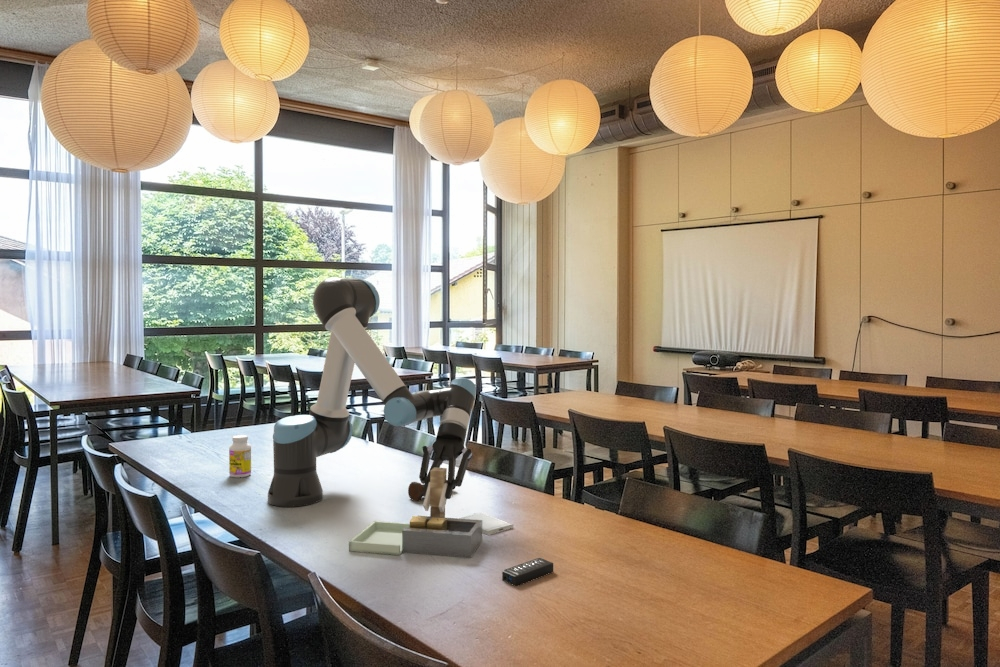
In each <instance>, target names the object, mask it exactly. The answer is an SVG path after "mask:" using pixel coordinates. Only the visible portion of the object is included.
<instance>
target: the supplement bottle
mask: <svg viewBox="0 0 1000 667" xmlns="http://www.w3.org/2000/svg"><path fill="white" fill-rule="evenodd" d="M248 439H249V436H248V435H245V434H242V435H241V434H238V435H233V436H232V438H231V440H232V444H230V445H229V447H228V449H229V450H228V451H229V454H228V455H229V464H228V467H229V469H228V470H229V472H228V473H229V476H230V477H231V478H235V479H236V478H237V479H238V478H240V477H241V478H246V477H249V476H251V474H252V445H251V444H250V443H248Z"/></svg>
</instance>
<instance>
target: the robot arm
mask: <svg viewBox="0 0 1000 667" xmlns="http://www.w3.org/2000/svg"><path fill="white" fill-rule="evenodd" d="M312 305H313V308H314V311H315V314H316V316H317V317H318V320H319V321H320V323H321V325H322V326H323V327H324V328H325V330H326V331H328V332H330V336H329V340H328V346H327V350H326V355H325V360H324V365H323V369H322V370H323V371H322V374H321V379H320V380H321V381H320V385H319V389H318V390H319V391H318V395H317V399H316V402H315V403H314V404H312V405H311V406H310V408H309V412H308V413H309V414H295V415H290V416H286V417H282V418H281V419H279V420H277V421H276V422H275V424H274V426H273V434H272V439H273V440H272V441H273V442H272V443H273V444H272V445H273V446H272V448H273V476H272V480H271V483H270V484H269V488H268V492H267V503H268V504H269V505H272V506H275V507H282V508H285V507H286V508H289V507H290V508H292V507H302V506H303V507H304V506H309V505H313V504H316V503H318V502H320V501H321V500H323V498H324V495H323V494H324V491H323V487H322V484H321V481H320V478H319V474H318V472H317V458H318V457H321V456H323V455H327V454H333V453H335V452H338V451H340V450H341V449H343V448H345V447H346V446H347V445H348V444H349V442H350V441H351V439H352V435H353V432H354V431H353V424H352V423H351V419H350V417H349V416H350V411H348V409H347V402H348V397H349V396H348V395H349V391H350V386H351V383H352V382H351V381H352V379H353V378H352V377H353V372H354V367H355V366H356V367H357V368H358V369H359V371H360V372H361V374H362V375H363V376H364V378H365V380H366V381H367V382H368V384H369V385H370V386H371V389H373V390H374V392H375V393H376V395H377V397H379V399H380V400H381V402H382V403H383V405H384V407H383V415H384V418H385V421H386V422H387V423H388V424H389V425H391V426H394V427H403V426H405V427H406V426H409V425H411V424H413V423H416V422H419V421H423V420H426V419H429V418H434V417H435V418H436V417H440V416H441V420H440V421H439V426H438V429H437V435H436V438H435V441H434V442H433V444H432V445H431V446H427V445H423V446H422V447H421V448H422V452H423V455H422V461H421V465H420V470H419V471H420V472H419V476H418V478H419V481H420V483H421V485H423V484H425V485H424V489H423V495H424V496H423V497H424V499H423V504H422V506H423V508H424V511H426V512H428V511H429V510H430V507H431V506H430V471H431V470H432V469H433V468H434V467H436V468H441V466H442V465H443V462H445V461H448V470H447V479H446V480H447V482H448V484H447V483H444V486H443V490H442V494H441V498H440V503H439V509H440V512H444V508H445V509H446V504H447V500H450V499H451V498H452V494H453V491H454V490H453V488H454V487H455V488H456V487H459V488H460V487H462V484H463V480H464V477H465V475H466V471H467V468H468V465H469V462H470V461H471V459H472V458H473V452H472V449H471V448H468V449H467V448H466V447H465V441H466V437H467V431H468V429H469V424H470V419H471V414H472V410H473V406H474V402H475V401H476V391H477V387H476V386H477V385H476V384H475V383H474V382H473V380H471V379H469V378H467V377H461V376H460V377H455V378H454V379H452V380H451V381H450V384H449V386H448V387H444V388H440V389H439V388H438V389H429V390H419V391H418V390H417V391H415V392H411V391H410V389H409V388H408V387H407V386H406V384H405V383H404V381H403V380H402V378H400V376H399V375H398V373H397V371H396V370H395V369H394V368H393V366H392V365H391V364H390V362H389V361H388V359H387V357H386V356H385V355H384V353H383V352H382V351H381V350H380V348H379V347H378V346H377V344H376V343H375V341H374V340H373V338H372V337H371V335H369V333H368V331H367V330H366V329H368V326H369V320H370V318H372V317H373V316H374V315H375V314H377V312H378V311H379V308H380V305H381V304H380V295H379V292H378V290H377V288H376V287H375V285H374V284H372V282H370V281H368V280H365V279H361V278H357V277H354V278H353V277H350V278H349V277H333V276H332V277H329V278H326V279H324V280H322V281H320V283H319V284H318V285H317V286H316V288H315V290H314V292H313V296H312ZM433 452H434V454H435V455H434V460H433V462H432V464H431V466H430V462H431V460H430V458H431V456H432V455H433V454H432V453H433ZM461 455H462V457H461V460H460V462H459V465H458V470H457V472H456V461H457V458H459V457H460V456H461ZM429 466H430V469H429ZM455 472H456V473H455ZM455 474H456V476H455Z"/></svg>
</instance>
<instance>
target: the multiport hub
mask: <svg viewBox="0 0 1000 667" xmlns="http://www.w3.org/2000/svg"><path fill="white" fill-rule="evenodd" d="M551 572H553V573H554V562H552V561H550V560H547V559H544V558H542V557H537V558H533V559H532V560H529V561H525V562H523V563H520V564H517V565H515V566H512V567H511V566H510V567H508V568H505V569H502V571H501V574H502V576H501V579H502V580H501V581H503V582H505V583H507V582H508V583H507V584H509V583H510V584H509V585H512V584H513V585H512V586H514V585H515V586H514V587H518V585H519V586H521V585H524V584H526V582H527V583H529V582H528V581H530V582H532V581H534V580H533V579H535V580H537V579H536V578H538V579H539V577H540V578H542V577H541V576H543V577H545V576H544V575H546V574H548V573H551ZM551 574H552V573H551ZM548 575H549V574H548ZM546 576H547V575H546ZM531 580H532V581H531ZM523 583H524V584H523Z"/></svg>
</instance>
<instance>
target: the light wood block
mask: <svg viewBox="0 0 1000 667" xmlns="http://www.w3.org/2000/svg"><path fill="white" fill-rule="evenodd" d="M422 516H423V515H416V516H412V517H411V518H410V520H409V524H410V528H417V529H427V517H422Z"/></svg>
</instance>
